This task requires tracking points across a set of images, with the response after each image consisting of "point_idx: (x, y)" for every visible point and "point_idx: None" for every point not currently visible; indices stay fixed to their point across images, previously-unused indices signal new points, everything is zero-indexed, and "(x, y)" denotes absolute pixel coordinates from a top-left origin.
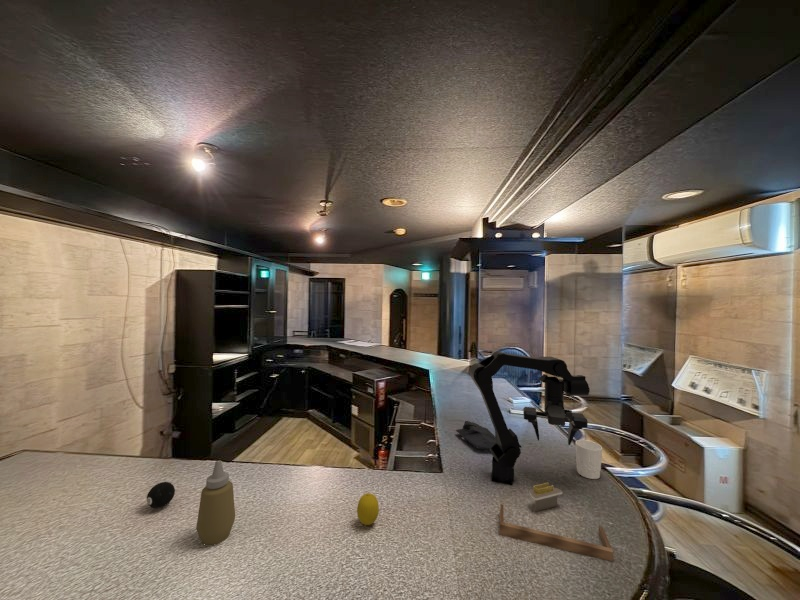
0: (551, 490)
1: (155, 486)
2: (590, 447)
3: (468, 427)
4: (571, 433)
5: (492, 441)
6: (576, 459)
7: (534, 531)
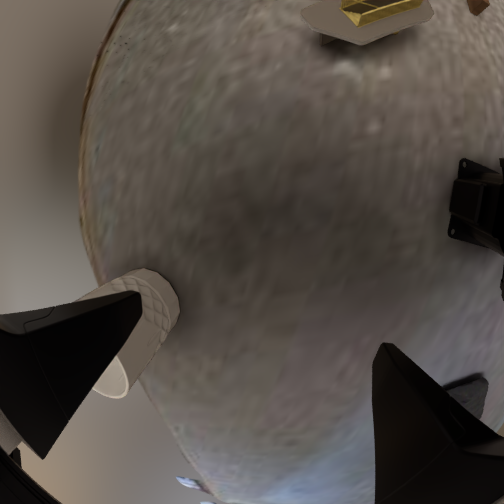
0: (349, 2)
1: None
2: None
3: None
4: (42, 321)
5: None
6: (162, 336)
7: None
